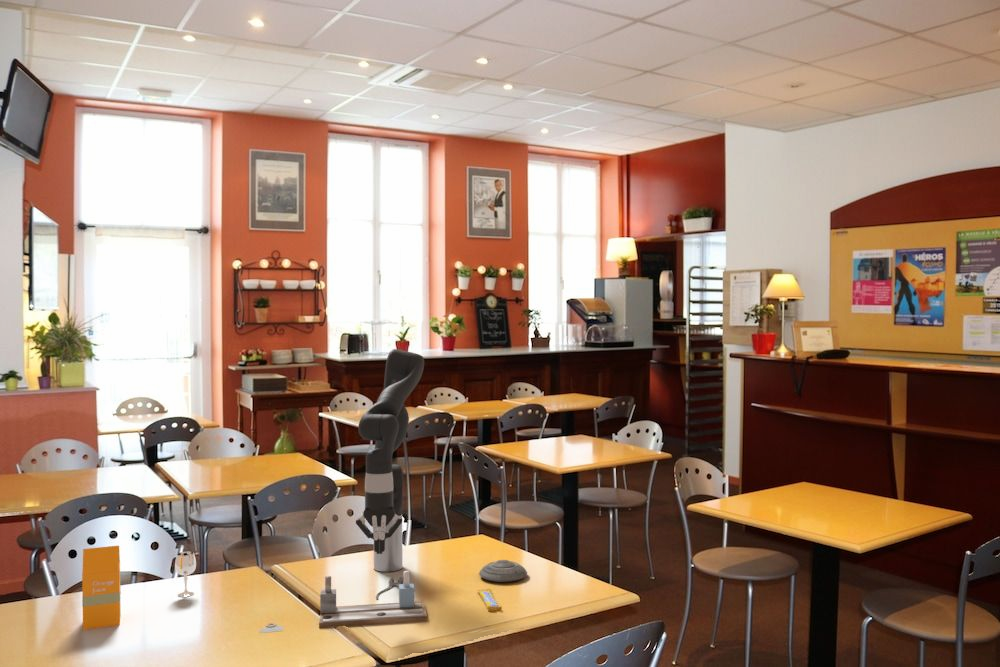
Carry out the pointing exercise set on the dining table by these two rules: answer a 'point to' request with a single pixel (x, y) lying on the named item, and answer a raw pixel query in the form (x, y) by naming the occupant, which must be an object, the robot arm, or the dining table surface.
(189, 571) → the wineglass
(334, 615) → the board
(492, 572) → the flying saucer
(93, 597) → the orange juice
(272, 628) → the mounting bracket
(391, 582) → the pliers
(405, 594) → the pointer block
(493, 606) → the candy bar
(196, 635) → the dining table surface
